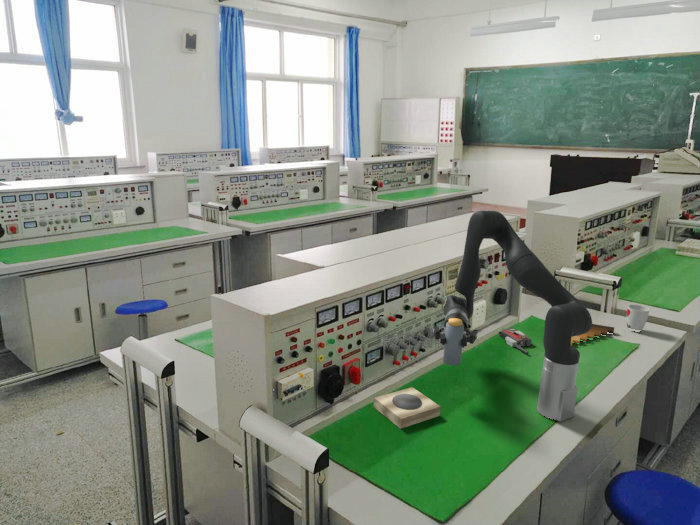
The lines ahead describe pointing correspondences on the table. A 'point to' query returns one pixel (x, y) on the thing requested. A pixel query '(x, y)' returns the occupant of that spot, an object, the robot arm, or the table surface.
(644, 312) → the cup
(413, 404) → the display riser
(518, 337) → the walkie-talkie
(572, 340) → the pan flute
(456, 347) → the can
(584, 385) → the table surface
